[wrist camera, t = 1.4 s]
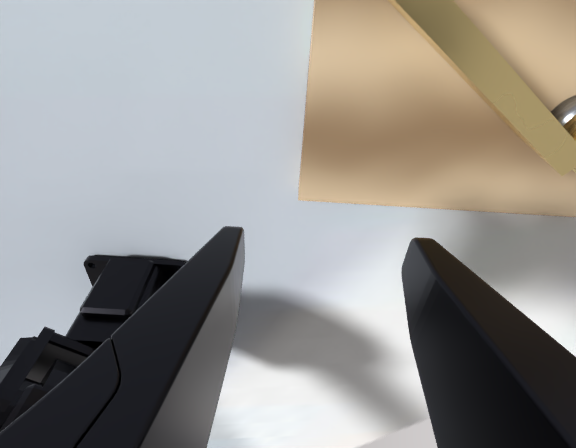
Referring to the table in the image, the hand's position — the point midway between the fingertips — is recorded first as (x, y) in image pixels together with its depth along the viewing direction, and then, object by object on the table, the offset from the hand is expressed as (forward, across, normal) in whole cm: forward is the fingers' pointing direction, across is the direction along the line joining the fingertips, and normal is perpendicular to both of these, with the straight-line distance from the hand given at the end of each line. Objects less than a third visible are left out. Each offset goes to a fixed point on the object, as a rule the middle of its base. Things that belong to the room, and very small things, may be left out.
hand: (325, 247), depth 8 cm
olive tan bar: (+10, -8, -2) cm, 13 cm away
